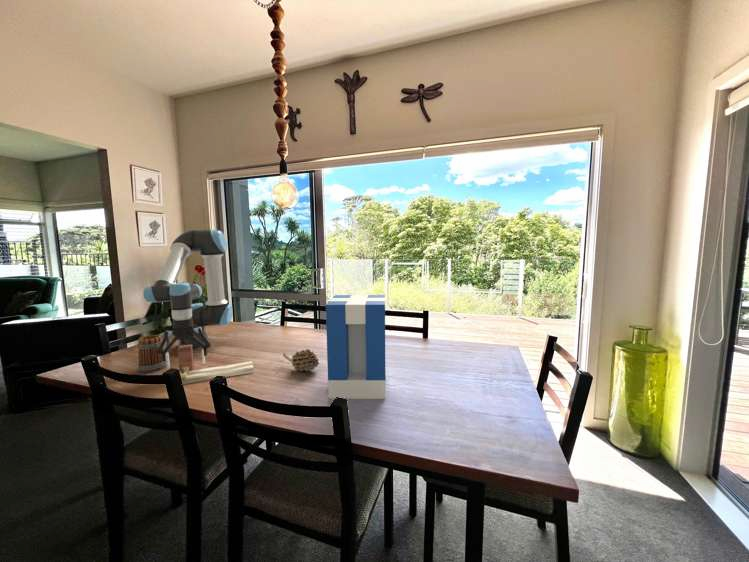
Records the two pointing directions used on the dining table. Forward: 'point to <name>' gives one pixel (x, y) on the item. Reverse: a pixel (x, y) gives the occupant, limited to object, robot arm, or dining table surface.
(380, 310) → the toy block
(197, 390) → the dining table surface
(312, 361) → the pine cone
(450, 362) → the dining table surface
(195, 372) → the board
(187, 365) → the block
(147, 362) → the mug
